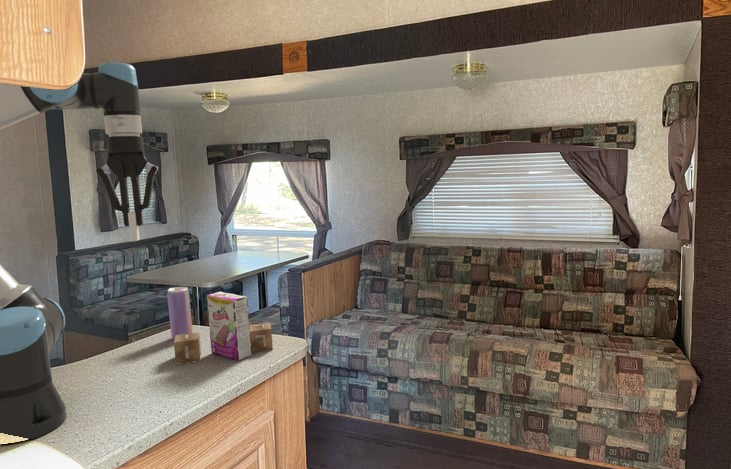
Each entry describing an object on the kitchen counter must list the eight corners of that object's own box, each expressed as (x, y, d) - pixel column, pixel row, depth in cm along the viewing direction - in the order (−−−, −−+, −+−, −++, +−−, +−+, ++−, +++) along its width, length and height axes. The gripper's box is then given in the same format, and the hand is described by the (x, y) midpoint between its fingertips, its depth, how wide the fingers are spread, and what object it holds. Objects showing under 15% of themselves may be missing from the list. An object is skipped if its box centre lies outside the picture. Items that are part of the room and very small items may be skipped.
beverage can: (180, 343, 157) (175, 292, 154) (167, 339, 160) (162, 290, 158) (197, 336, 162) (192, 287, 159) (183, 333, 165) (179, 285, 163)
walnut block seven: (250, 353, 147) (248, 330, 146) (249, 345, 153) (247, 324, 152) (272, 350, 148) (271, 328, 147) (271, 342, 154) (269, 321, 153)
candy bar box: (210, 354, 147) (205, 295, 145) (224, 348, 151) (220, 290, 149) (238, 361, 140) (233, 300, 138) (252, 355, 145) (248, 295, 142)
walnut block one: (175, 364, 140) (173, 341, 139) (177, 356, 146) (175, 334, 145) (199, 361, 142) (197, 339, 141) (201, 353, 148) (199, 331, 147)
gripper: (88, 135, 116) (100, 244, 119) (153, 134, 119) (163, 240, 123) (96, 137, 123) (108, 239, 127) (157, 135, 126) (166, 235, 130)
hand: (135, 240), depth 125 cm, fingers closed
